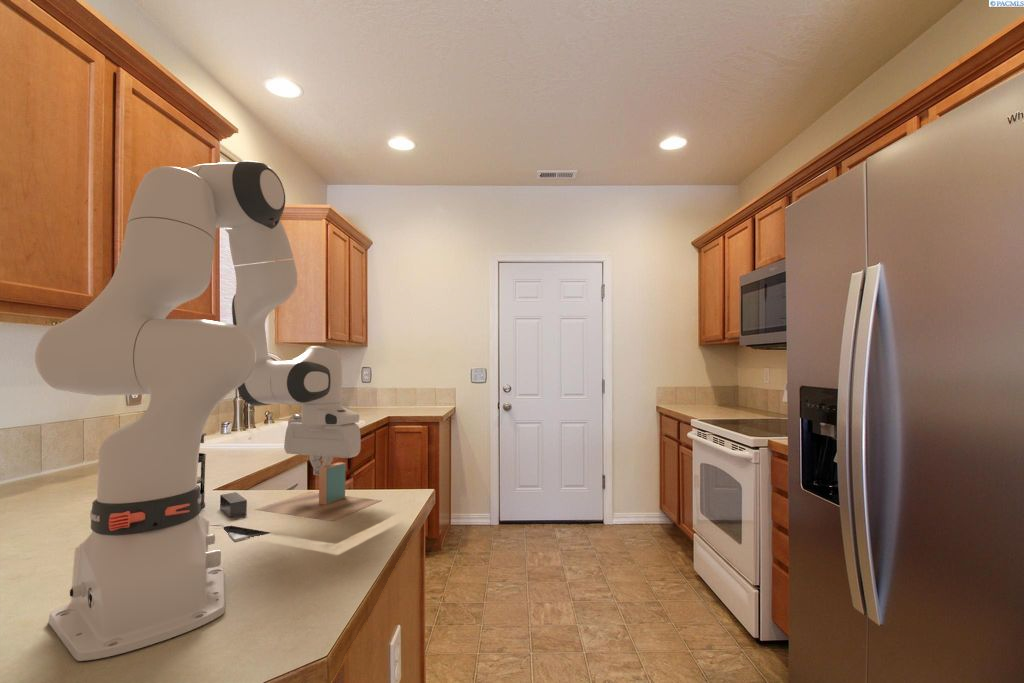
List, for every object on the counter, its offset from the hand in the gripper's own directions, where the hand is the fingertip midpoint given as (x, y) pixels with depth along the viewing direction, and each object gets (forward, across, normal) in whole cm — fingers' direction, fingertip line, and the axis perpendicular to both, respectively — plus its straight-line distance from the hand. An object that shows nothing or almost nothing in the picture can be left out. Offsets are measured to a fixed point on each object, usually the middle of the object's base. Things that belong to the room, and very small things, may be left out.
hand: (320, 474), depth 105 cm
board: (+7, +3, -4) cm, 9 cm away
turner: (+7, -6, -16) cm, 18 cm away
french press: (+7, -29, -13) cm, 33 cm away
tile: (+6, +4, 0) cm, 7 cm away
